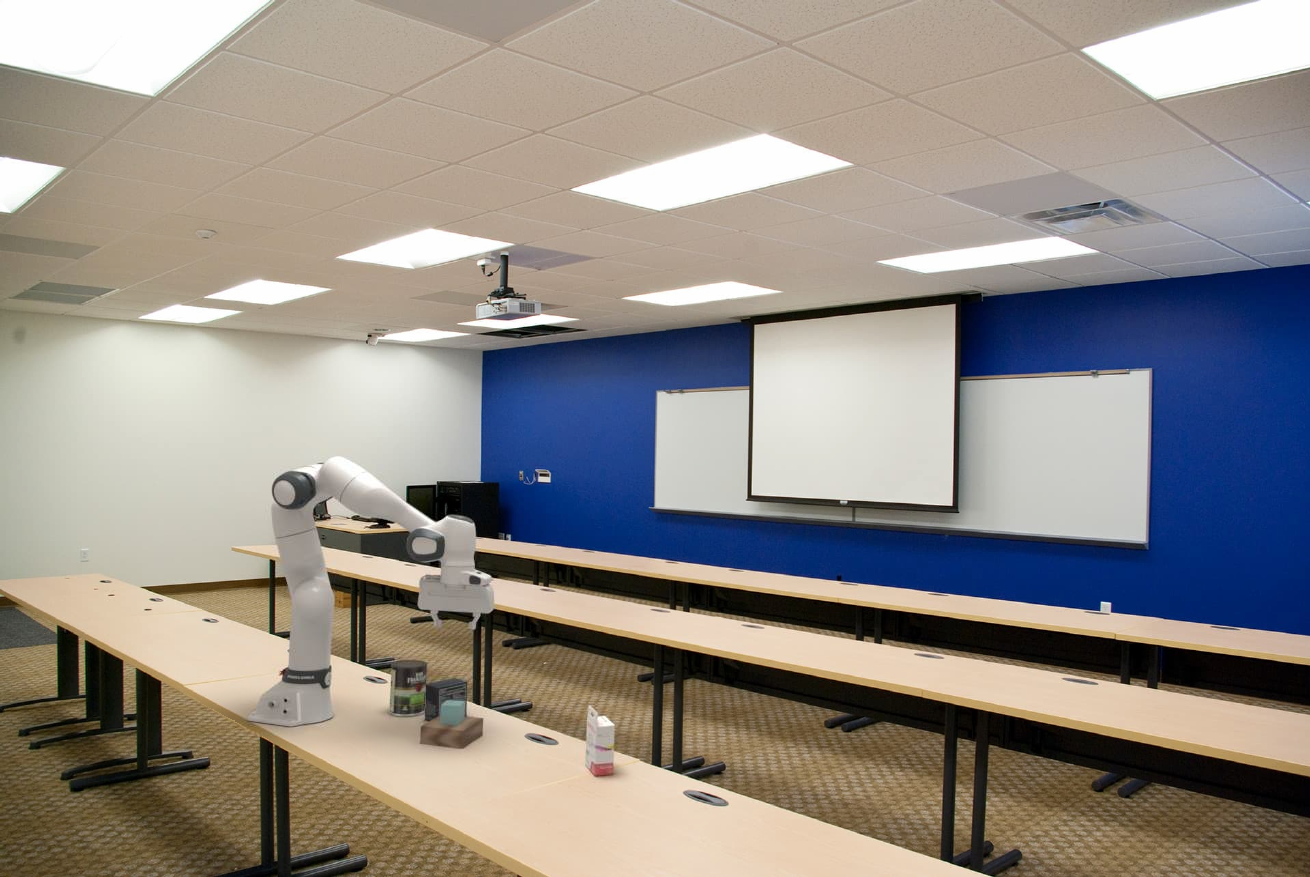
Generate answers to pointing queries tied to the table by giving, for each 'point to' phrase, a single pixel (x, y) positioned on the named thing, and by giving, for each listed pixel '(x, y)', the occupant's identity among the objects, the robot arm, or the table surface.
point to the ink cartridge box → (599, 744)
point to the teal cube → (452, 712)
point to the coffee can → (408, 688)
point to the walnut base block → (451, 733)
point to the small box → (443, 695)
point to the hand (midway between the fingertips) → (454, 628)
